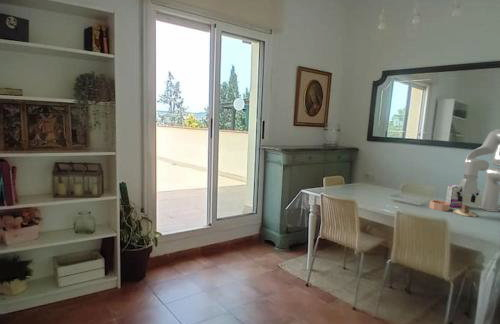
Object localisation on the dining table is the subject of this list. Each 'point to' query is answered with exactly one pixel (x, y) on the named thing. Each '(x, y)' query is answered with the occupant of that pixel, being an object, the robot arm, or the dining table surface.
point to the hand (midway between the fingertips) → (465, 201)
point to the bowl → (439, 205)
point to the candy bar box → (453, 196)
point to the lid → (464, 211)
